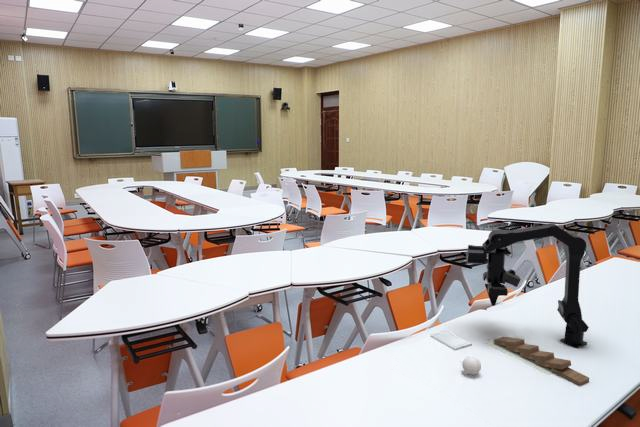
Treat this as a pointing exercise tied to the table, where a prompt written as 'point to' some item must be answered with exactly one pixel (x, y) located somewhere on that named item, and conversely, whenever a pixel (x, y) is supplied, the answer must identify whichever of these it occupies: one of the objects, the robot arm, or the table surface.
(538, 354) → the domino
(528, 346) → the domino
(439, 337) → the hard drive
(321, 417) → the table surface
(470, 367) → the white sphere
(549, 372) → the mat
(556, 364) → the domino
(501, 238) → the robot arm
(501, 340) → the domino
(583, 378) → the domino
